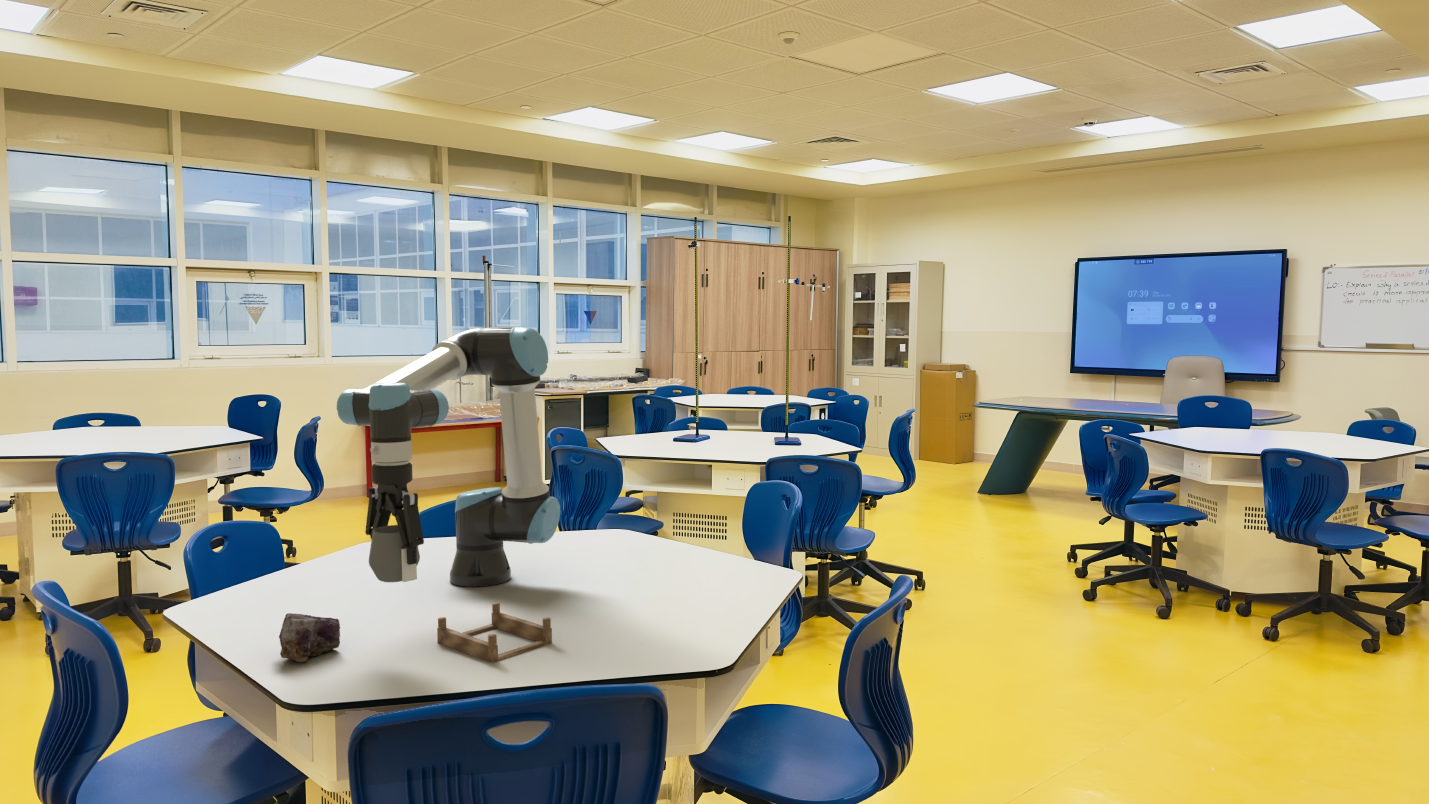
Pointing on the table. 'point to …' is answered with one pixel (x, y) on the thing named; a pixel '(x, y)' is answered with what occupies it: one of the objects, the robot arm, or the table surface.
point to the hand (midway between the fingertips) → (395, 575)
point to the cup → (387, 553)
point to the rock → (308, 636)
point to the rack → (495, 636)
